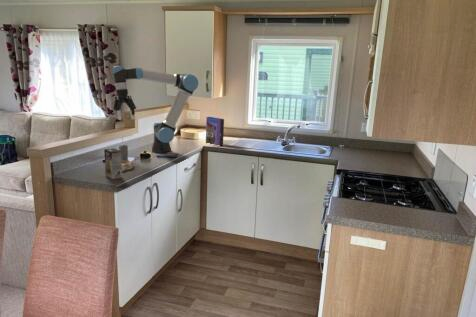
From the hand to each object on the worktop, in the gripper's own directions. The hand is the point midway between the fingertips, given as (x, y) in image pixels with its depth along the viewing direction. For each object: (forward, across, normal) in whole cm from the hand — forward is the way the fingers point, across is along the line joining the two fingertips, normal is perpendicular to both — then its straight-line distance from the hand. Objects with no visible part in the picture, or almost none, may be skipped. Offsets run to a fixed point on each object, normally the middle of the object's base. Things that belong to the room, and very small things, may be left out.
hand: (126, 119), depth 242 cm
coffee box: (+29, +26, -38) cm, 54 cm away
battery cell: (+28, +6, -14) cm, 32 cm away
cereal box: (+35, +15, +81) cm, 90 cm away
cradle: (+28, +15, -24) cm, 40 cm away
